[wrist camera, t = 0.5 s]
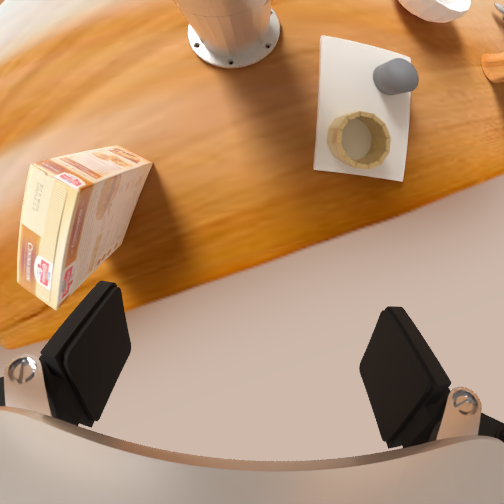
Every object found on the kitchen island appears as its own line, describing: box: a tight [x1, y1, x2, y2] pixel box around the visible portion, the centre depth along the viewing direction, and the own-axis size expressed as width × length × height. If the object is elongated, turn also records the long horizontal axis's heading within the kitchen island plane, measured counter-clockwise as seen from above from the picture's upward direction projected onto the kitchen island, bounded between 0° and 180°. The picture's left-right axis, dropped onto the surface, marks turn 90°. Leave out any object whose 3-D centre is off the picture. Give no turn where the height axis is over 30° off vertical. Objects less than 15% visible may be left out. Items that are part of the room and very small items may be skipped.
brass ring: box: [327, 111, 391, 170], centre depth 33 cm, size 7×7×5 cm
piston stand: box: [313, 35, 418, 182], centre depth 31 cm, size 20×14×6 cm
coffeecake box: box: [17, 145, 153, 310], centre depth 31 cm, size 15×7×20 cm, turn 151°
